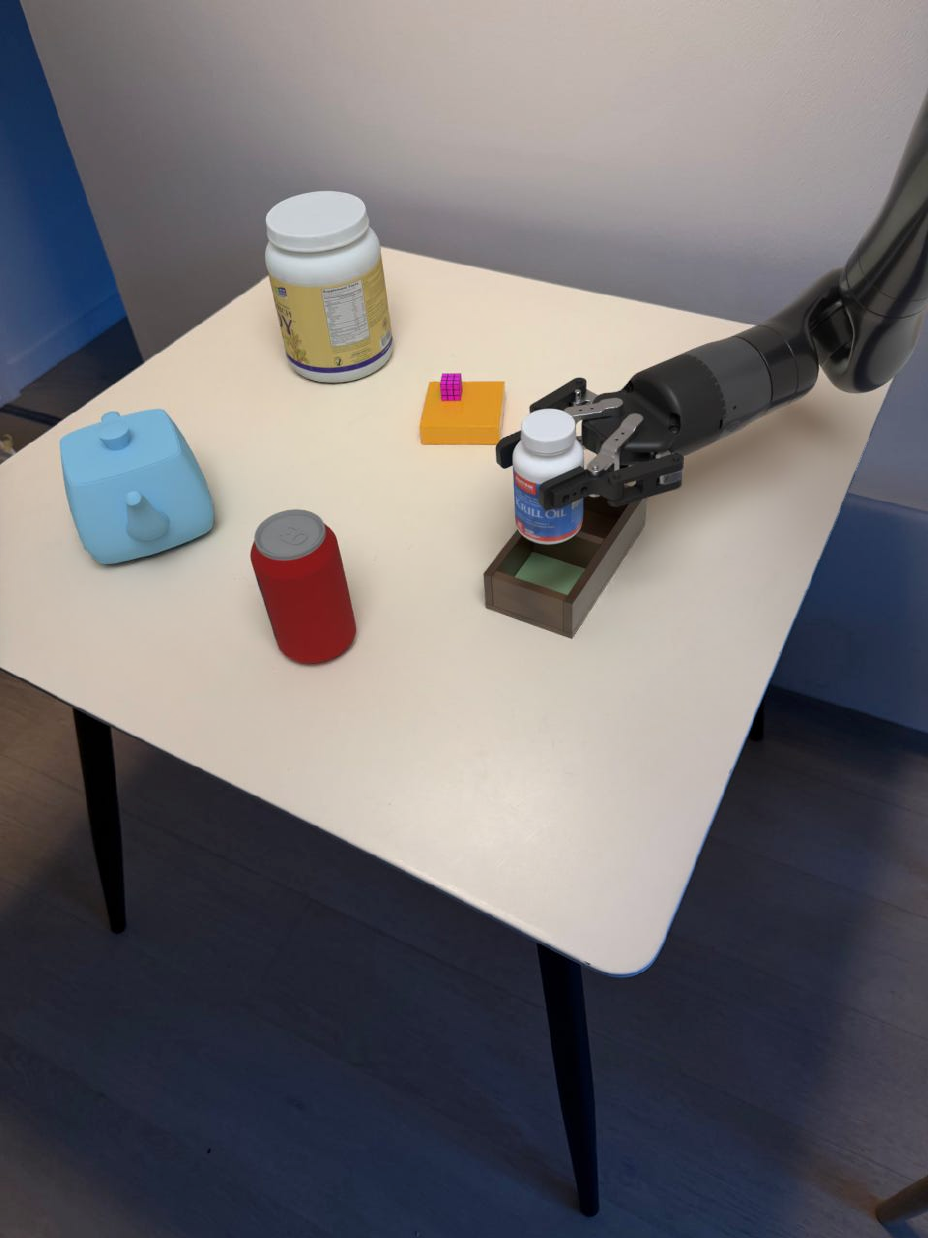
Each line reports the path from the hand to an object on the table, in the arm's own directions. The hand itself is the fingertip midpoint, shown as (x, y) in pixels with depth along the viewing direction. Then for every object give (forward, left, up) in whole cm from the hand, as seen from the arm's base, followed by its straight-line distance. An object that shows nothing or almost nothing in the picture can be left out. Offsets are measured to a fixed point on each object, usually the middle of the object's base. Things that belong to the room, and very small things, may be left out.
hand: (520, 477), depth 74 cm
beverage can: (+14, +11, -14) cm, 23 cm away
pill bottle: (-1, -2, -6) cm, 7 cm away
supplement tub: (+37, -26, -14) cm, 47 cm away
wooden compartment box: (-1, -6, -14) cm, 15 cm away
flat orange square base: (+18, -21, -14) cm, 31 cm away
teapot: (+36, +7, -14) cm, 39 cm away
